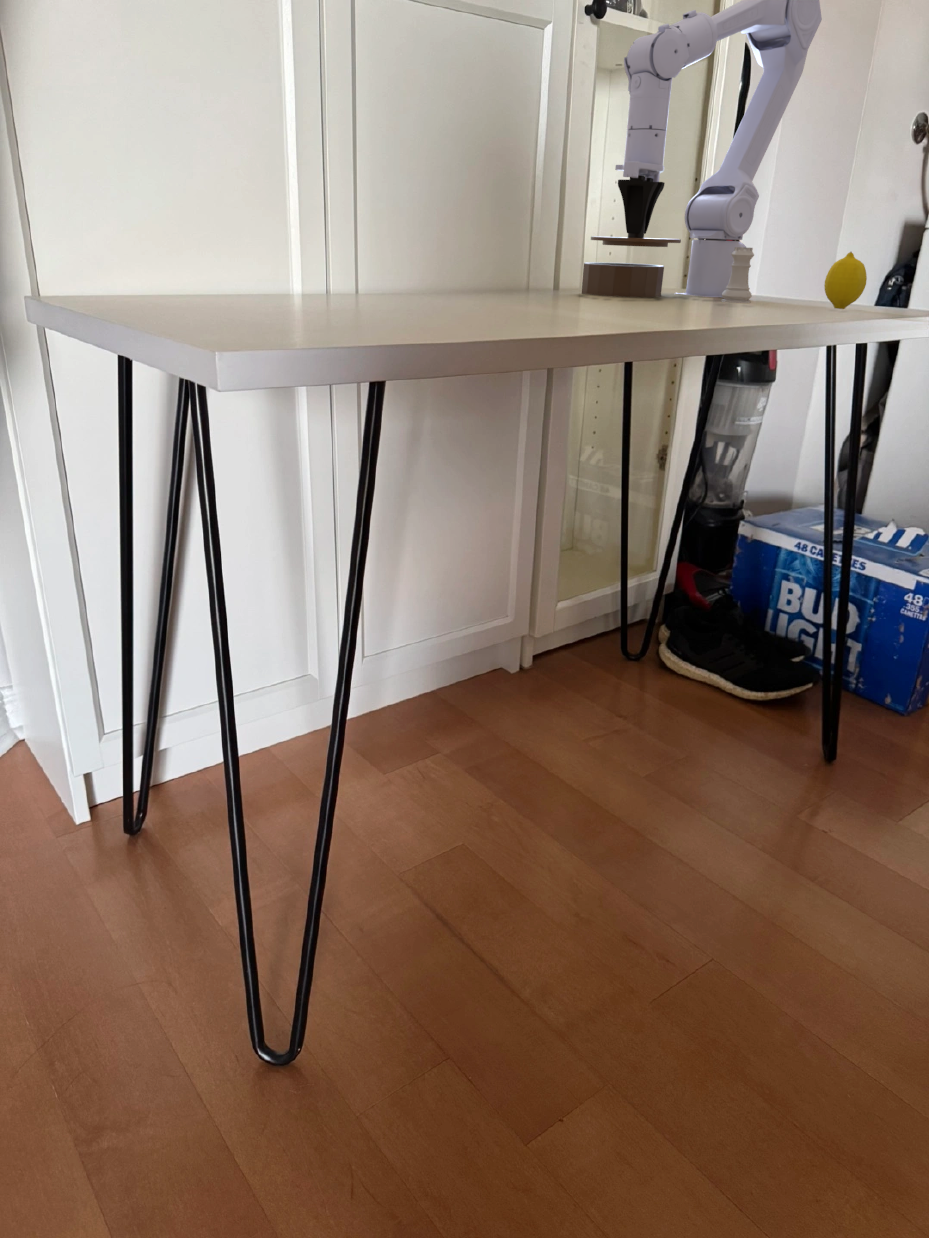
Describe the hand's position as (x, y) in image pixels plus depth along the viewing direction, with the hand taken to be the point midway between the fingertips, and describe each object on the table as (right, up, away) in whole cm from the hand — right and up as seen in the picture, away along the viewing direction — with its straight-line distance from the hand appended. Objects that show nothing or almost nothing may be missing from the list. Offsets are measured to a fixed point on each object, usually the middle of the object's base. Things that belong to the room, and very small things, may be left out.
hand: (636, 233), depth 133 cm
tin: (-1, -7, +7) cm, 10 cm away
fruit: (+29, -13, -4) cm, 32 cm away
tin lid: (0, -1, 0) cm, 1 cm away
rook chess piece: (+14, -12, -2) cm, 19 cm away
